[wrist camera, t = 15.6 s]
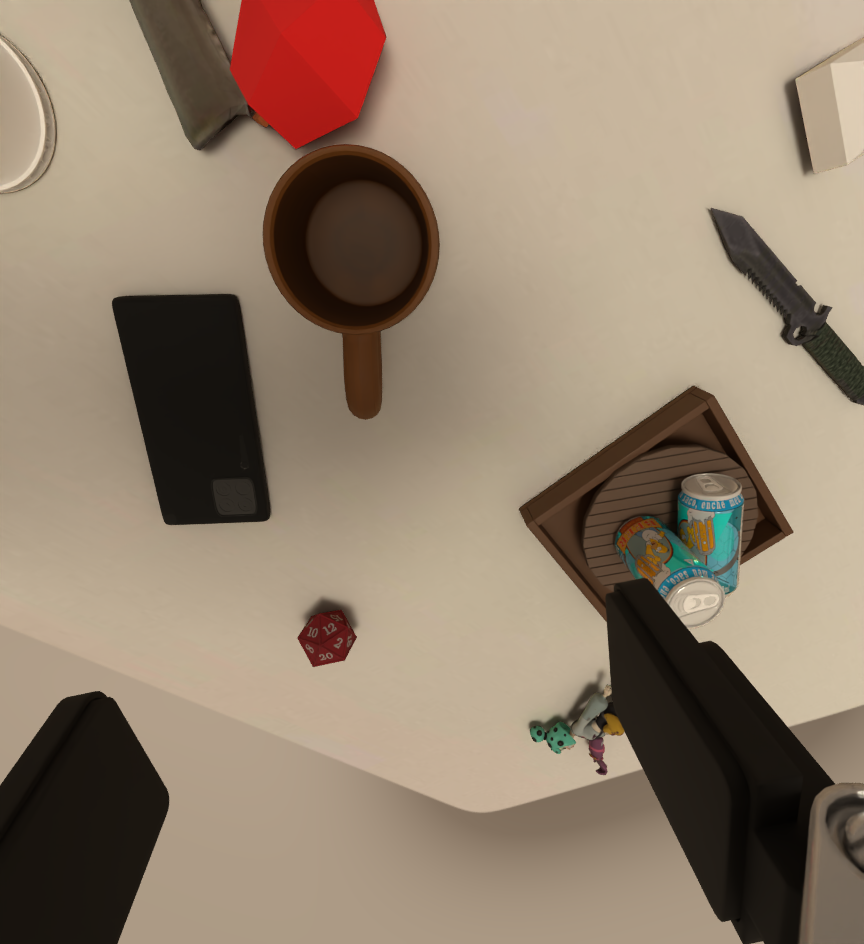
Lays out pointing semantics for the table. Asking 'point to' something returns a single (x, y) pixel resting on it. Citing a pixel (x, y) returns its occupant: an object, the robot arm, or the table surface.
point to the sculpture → (191, 66)
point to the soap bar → (834, 108)
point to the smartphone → (195, 405)
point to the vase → (23, 121)
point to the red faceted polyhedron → (306, 62)
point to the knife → (791, 303)
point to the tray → (674, 424)
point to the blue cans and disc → (673, 527)
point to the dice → (327, 638)
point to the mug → (352, 253)
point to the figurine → (585, 729)
